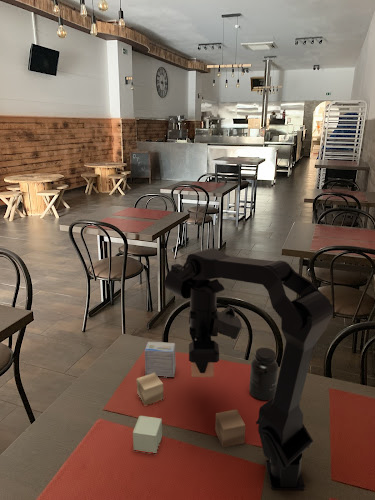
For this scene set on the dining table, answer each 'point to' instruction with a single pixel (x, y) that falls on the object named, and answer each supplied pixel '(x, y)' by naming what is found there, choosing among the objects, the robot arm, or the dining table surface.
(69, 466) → the dining table surface
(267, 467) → the robot arm
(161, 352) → the medicine box
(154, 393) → the maple block
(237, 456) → the dining table surface
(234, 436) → the walnut block
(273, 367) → the supplement bottle
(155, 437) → the sage painted block
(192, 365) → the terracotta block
